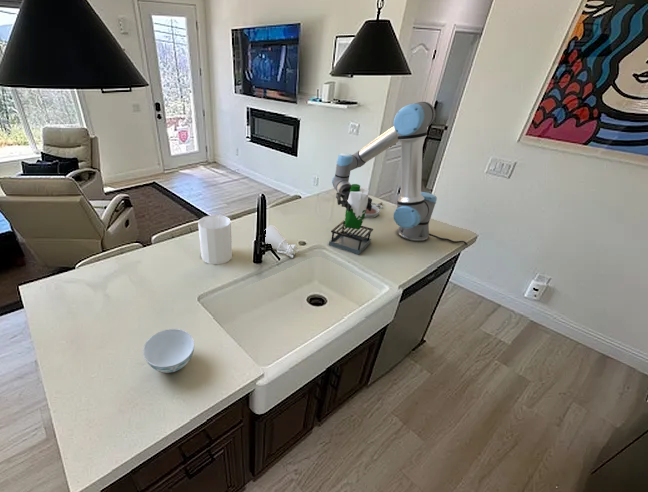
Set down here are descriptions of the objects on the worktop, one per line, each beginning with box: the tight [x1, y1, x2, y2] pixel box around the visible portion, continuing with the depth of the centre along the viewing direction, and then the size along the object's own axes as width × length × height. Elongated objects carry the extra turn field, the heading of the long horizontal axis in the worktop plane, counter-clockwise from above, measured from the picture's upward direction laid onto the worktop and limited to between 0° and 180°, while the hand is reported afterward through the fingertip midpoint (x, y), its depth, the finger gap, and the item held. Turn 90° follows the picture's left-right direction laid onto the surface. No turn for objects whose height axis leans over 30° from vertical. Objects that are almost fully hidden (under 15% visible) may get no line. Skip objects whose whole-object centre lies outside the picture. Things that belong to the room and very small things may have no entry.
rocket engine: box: [265, 224, 301, 259], centre depth 158 cm, size 12×12×18 cm
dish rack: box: [328, 220, 374, 255], centre depth 164 cm, size 16×15×8 cm
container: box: [197, 214, 233, 265], centre depth 151 cm, size 14×14×18 cm
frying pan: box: [364, 201, 383, 219], centre depth 201 cm, size 17×3×28 cm
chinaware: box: [142, 328, 195, 374], centre depth 100 cm, size 15×15×8 cm
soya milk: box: [344, 183, 370, 231], centre depth 155 cm, size 9×9×20 cm
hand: (360, 208), depth 151 cm, fingers closed on soya milk, 9 cm apart
